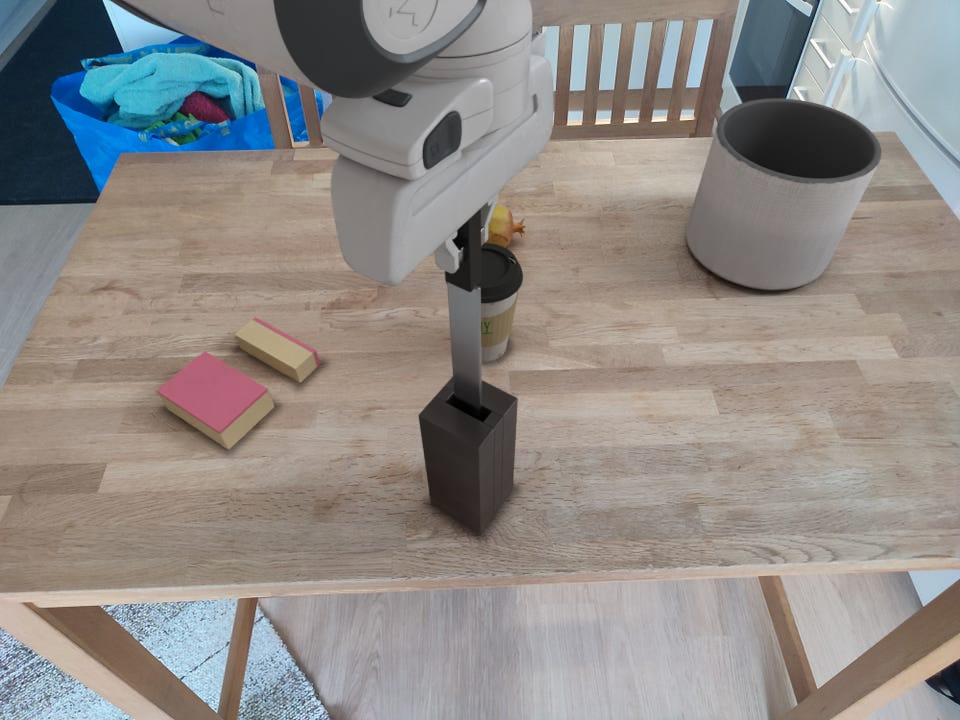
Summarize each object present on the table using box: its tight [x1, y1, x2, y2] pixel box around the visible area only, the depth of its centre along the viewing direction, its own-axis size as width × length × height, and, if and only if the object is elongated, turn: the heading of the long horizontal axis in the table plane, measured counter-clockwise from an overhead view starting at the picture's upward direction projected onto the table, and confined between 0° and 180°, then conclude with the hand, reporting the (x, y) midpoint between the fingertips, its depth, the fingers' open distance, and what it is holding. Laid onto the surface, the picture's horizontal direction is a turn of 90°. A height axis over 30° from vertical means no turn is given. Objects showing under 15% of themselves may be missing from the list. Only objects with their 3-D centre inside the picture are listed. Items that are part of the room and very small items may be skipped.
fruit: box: [485, 204, 527, 248], centre depth 105 cm, size 7×7×10 cm
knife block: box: [417, 376, 519, 536], centre depth 71 cm, size 7×7×18 cm
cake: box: [155, 350, 275, 450], centre depth 85 cm, size 8×12×4 cm
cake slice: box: [234, 316, 321, 384], centre depth 91 cm, size 3×12×4 cm
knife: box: [444, 208, 483, 422], centre depth 56 cm, size 2×3×25 cm, turn 57°
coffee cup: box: [445, 243, 524, 363], centre depth 87 cm, size 10×10×15 cm
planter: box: [685, 97, 882, 291], centre depth 98 cm, size 22×22×20 cm
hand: (462, 254), depth 49 cm, fingers closed on knife, 2 cm apart
